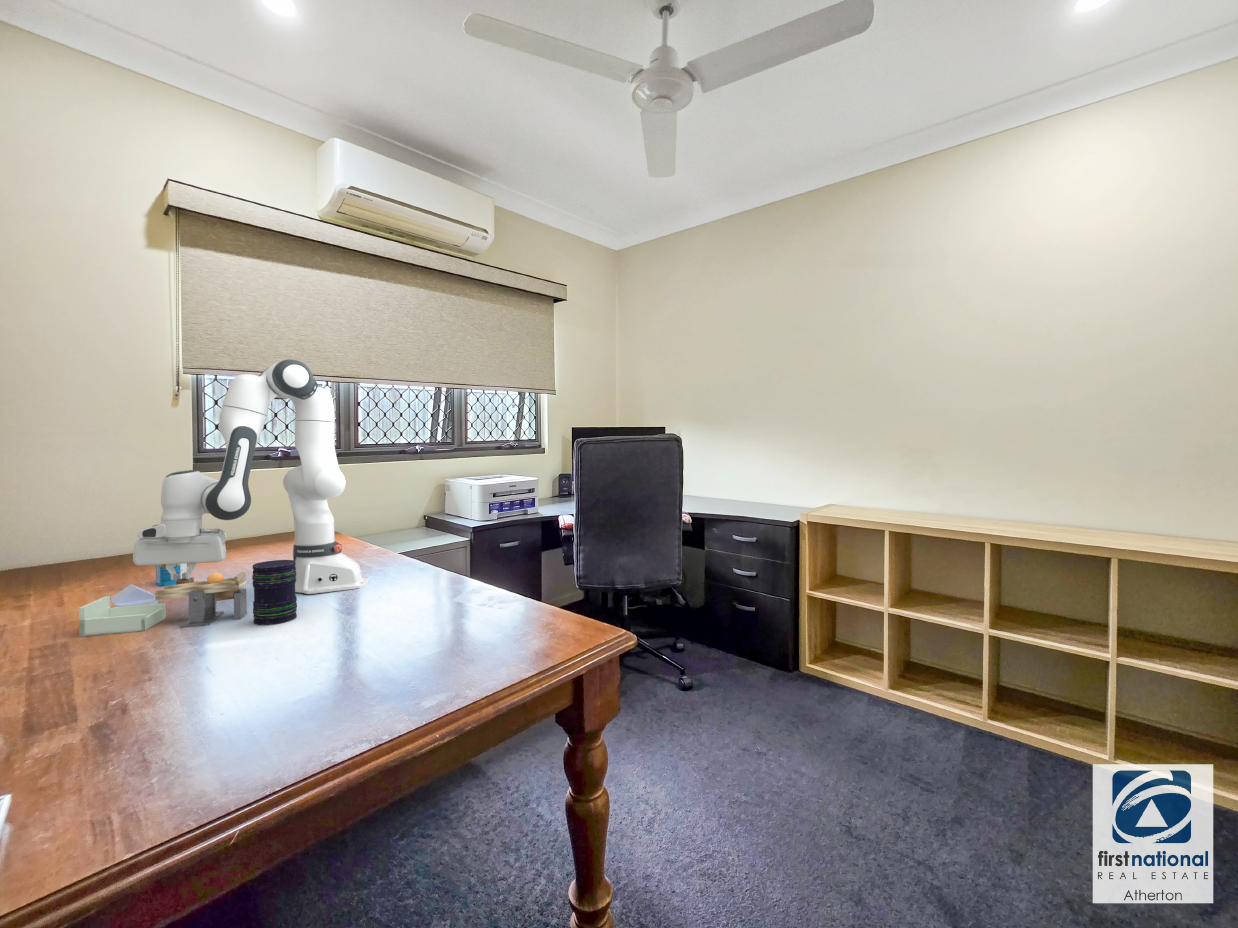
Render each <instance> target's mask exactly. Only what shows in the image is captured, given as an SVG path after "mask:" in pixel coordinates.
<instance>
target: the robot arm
mask: <svg viewBox="0 0 1238 928" xmlns="http://www.w3.org/2000/svg"><path fill="white" fill-rule="evenodd" d="M287 399H290V400H291V402H292V403H293V405H294V410H295V417H294V447H295V449H296V451H297V452H298V455H299V460H300V465H298V466H296V467H293V468H291V469H289V470H288V471H287V472H286V473H285V474H284V476H283V479H282V480H283V481H282V483H283V488H284V490H285V491H286V493H287V494H288V499H289V503H290V507H291V510H292V514H293V523H294V524H293V525H294V544H293V548H292V560H294V561H296V565H295V566H296V583H295V593H300V594H301V593H302V594H305V595H312V594H314V595H315V594H321V593H322V594H323V593H329V592H330V593H331V592H337V591H346V590H355V589H356V590H357V589H360V588H363V586H364V585H365V586H367V585H368V584H369V582H368V581H370V579H369V577H367V576H365V575H364V576H363V575H362V571H361V570H362V569H361V566H360V564H359V563H358V562H357V561H356V560H354V559H352V558H351V557H349V556H347V555H346V554H344V553H342V550H343V548H342V547H343V546H342V545H343V544H342V543H341V542H338V541H336V540H335V517H334V515H333V513H332V511H331V509H330V507H329V503H328V501H329V500H333V499H335V498H338V497H339V496H340V495H341V494H343V493H344V491H345V489H346V485H347V481H346V477H345V475H344V473H343V472H342V470H341V469H340V466H339V461H338V457H337V452H336V443H335V441H336V440H335V439H336V437H335V434H336V433H335V431H336V429H335V428H336V427H335V426H336V424H335V423H336V419H335V418H336V417H335V416H336V415H335V414H336V413H335V407H334V400H333V396H332V394H331V392H330V391H329V390H327V389H325V388H323V387H320V386H319V385H318V382H317V381H316V379H315V377H314V374H313V372H312V371H311V369H310V367H309V366H308V365H306V363H304V362H303V361H300V360H297V359H289V358H288V359H285V360H281V361H278V362H275V363H274V364H273V363H272V365H271V366H269V367H267V368H266V369H264V370H263V372H261V373H260V374H259V375H255V374H252V373H251V374H250V373H243V374H238V375H236V376H235V377H234V378H233V380H232V381H231V383H230V385H229V387H228V389H227V392H226V393H225V395H224V398H223V402H222V406H221V409H220V414H219V420H218V423H219V424H218V430H219V431H220V434H221V435H222V437H223V440H224V441H225V445H226V447H225V448H226V450H225V457H224V461H223V465H222V469H221V472H220V473H221V474H220V477H219V479H216V478H213V477H210V476H209V475H206V474H204V473H202V472H200V471H199V470H196V469H190V470H181V471H180V470H179V471H175V472H171V473H169V474H168V475H166V476H165V477H164V478H163V480H162V486H161V495H160V504H161V508H162V514H161V516H160V523H159V524H154V525H152V526H149V527H147V528H146V527H145V528H142V529H140V530H137V537H138V539H137V540H136V542H135V543H134V546H133V552H132V562H133V563H134V564H135V565H136V566H150V565H156V564H166V569H167V570H168V572H169V573H170V574H171V580H179V579H180V573H177V572H176V571H175V569H174V568H173V567H175V564H183V563H187V572H185V573H183V574H182V580H188V579H190V578H192V572H193V571H194V569H195V568H196V567H197V564H202V563H203V564H205V563H207V564H209V563H221V562H223V561H224V560H226V558H227V548H226V542H227V533H226V532H225V531H224V530H222V529H220V528H203V515H206V514H210V515H211V516H213V518H216V519H218V520H221V521H222V520H223V521H231V520H237V519H238V518H240V517H241V518H242V516H243V515H245V514H246V513H247V512H248V511H249V509H250V507H251V504H252V497H251V491H250V488H249V480H250V479H249V478H250V473H251V468H252V465H253V464H252V463H253V459H254V455H255V450H256V446H257V445H258V441H259V439H260V436H261V434H262V433H263V432H262V431H263V428H264V426H265V425H266V420H267V416H268V412H269V408H270V406H271V404H272V401H273V400H287ZM365 577H367V578H365ZM366 584H367V585H366ZM365 586H364V587H365Z"/></svg>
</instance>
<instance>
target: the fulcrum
mask: <svg viewBox="0 0 1238 928" xmlns="http://www.w3.org/2000/svg"><path fill="white" fill-rule="evenodd" d="M247 595H248V594H247V588H240V589H239V590H238V591H236V592H235V593H234V599H233V620H234V621H235V620H241V619H243V618H244V617H245V616H246V615H247V614H248V610H247V609H248V607H247V606H248V605H247V604H248V603H247V601H248V600H247ZM187 597H188V619H187V620H186V621H184V622H182V624H180V625H179V626H180V628H181V629H182V628H191V627H201V626H203V627H204V626H210V625H211V624H212V623H213V622H214V621H216V620H217V619H219V618H220V617H222V615H224V614H225V610H220V611H219V610H218V611H217V601H215V593H207V594H204V590H202V591H190V592H188V596H187Z"/></svg>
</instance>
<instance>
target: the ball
mask: <svg viewBox="0 0 1238 928" xmlns="http://www.w3.org/2000/svg"><path fill="white" fill-rule="evenodd" d="M224 579H225V577H224V575H223V574H222V573H221V572H213V573H211V574H209V575H208V576H207V578H206V581H207V583H208V584H215V583H223V581H224Z"/></svg>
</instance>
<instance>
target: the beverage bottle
mask: <svg viewBox="0 0 1238 928" xmlns="http://www.w3.org/2000/svg"><path fill="white" fill-rule="evenodd" d="M154 568H155V570H154V571H155V586H156V587H165V586H170V585H176V581H178V580H171V574H170V573H169V572H168V570H167V569H166V564H156V565H155V567H154ZM173 568H174V569H175V571H176V572H177V573H180V579H182V574H183V573H185V572H187V570H188V567H187V563H183V564H175V567H173ZM180 579H179V580H180Z"/></svg>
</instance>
